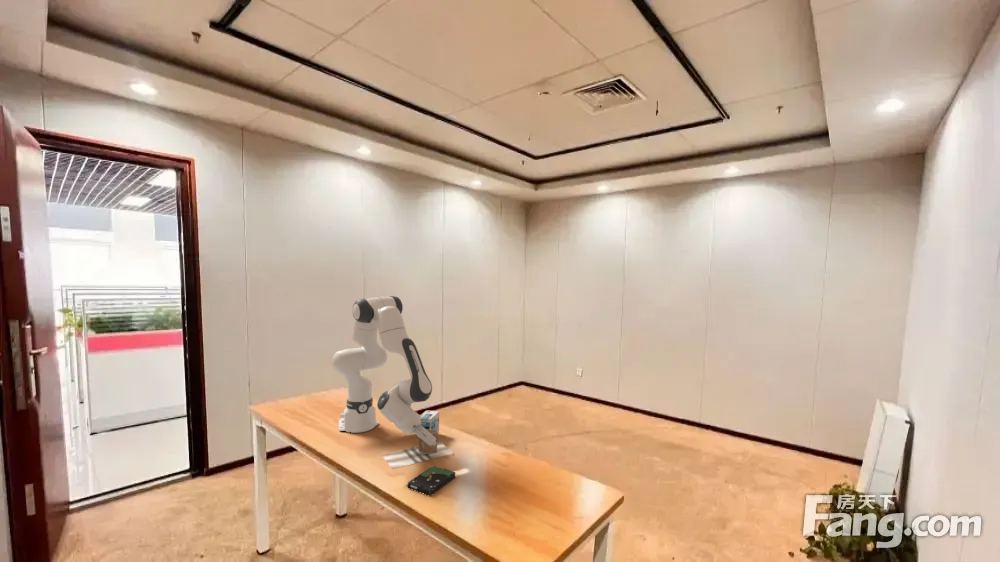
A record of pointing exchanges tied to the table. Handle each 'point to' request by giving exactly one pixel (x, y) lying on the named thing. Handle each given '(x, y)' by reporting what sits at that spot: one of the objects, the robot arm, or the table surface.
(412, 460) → the board
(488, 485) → the table surface
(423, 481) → the disk drive
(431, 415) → the light bulb box
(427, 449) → the block
